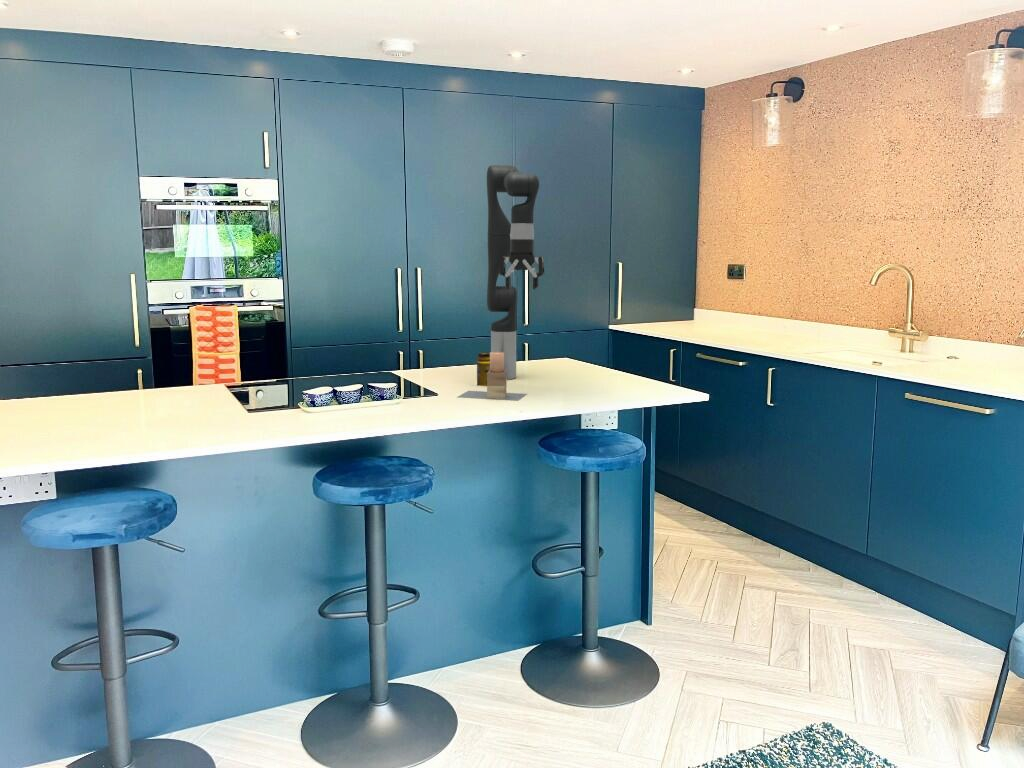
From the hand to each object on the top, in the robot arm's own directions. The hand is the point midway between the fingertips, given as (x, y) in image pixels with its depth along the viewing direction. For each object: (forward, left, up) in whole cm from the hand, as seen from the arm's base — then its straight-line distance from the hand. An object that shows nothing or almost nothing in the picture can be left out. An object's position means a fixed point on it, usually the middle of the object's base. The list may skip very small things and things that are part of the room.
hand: (521, 289), depth 270 cm
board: (+13, -6, -34) cm, 37 cm away
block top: (+15, -4, -29) cm, 33 cm away
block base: (+15, -4, -33) cm, 36 cm away
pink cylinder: (+15, -4, -25) cm, 29 cm away
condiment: (-6, -15, -34) cm, 38 cm away
